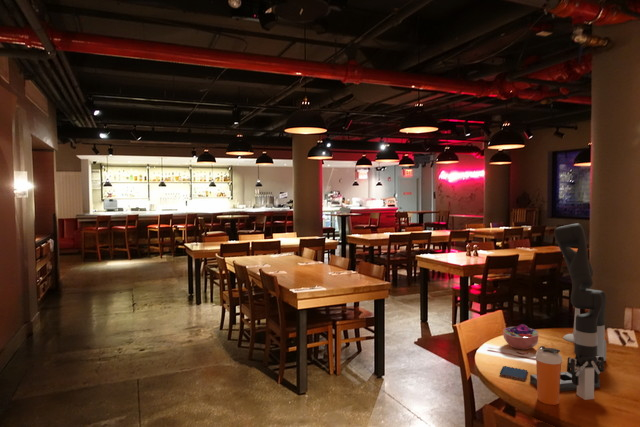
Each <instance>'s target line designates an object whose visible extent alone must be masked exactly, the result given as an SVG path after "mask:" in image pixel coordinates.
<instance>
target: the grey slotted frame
mask: <svg viewBox="0 0 640 427" xmlns="http://www.w3.org/2000/svg"><path fill="white" fill-rule="evenodd" d="M529 382H530V383H531V384H532V385H534V386H536V387H537V373H536V374H530V375H529ZM598 388H601V380H600V379H599V382H598V383H597V384H596V383H594V389H598ZM566 391H567V392H568V391H569V392H570V391H577V385H574V384H573V383H572V374H570V373H568V372H567V371H561V375H560V391H559V392H566Z"/></svg>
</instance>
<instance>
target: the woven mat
mask: <svg viewBox="0 0 640 427" xmlns="http://www.w3.org/2000/svg"><path fill="white" fill-rule="evenodd" d="M528 375H529V371H528V369H523V368H517V367H512V366H507V365H505V366H504V365H503V366H502V368H501V369H500V371H499V377H502V378H507V379H512V380H518V381H523V382H526V381H527V380H528V379H527V378H528Z"/></svg>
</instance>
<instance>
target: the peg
mask: <svg viewBox="0 0 640 427" xmlns="http://www.w3.org/2000/svg"><path fill="white" fill-rule="evenodd" d="M578 368H580V367H579V366H578ZM578 376H579V385H577V390H576V396H577V397H580V398H581V399H583V400H585V401H586V400H594V399H595V388H594V368H593V367H587V368H584V369H583V371H582V372H580V373H579V375H578Z"/></svg>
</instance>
